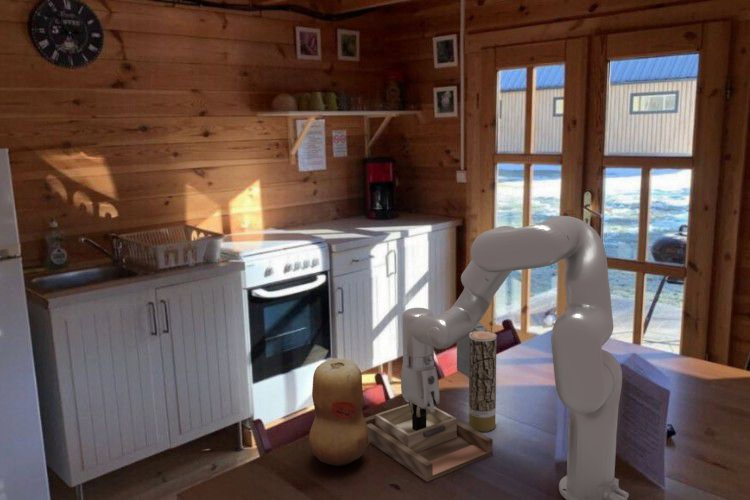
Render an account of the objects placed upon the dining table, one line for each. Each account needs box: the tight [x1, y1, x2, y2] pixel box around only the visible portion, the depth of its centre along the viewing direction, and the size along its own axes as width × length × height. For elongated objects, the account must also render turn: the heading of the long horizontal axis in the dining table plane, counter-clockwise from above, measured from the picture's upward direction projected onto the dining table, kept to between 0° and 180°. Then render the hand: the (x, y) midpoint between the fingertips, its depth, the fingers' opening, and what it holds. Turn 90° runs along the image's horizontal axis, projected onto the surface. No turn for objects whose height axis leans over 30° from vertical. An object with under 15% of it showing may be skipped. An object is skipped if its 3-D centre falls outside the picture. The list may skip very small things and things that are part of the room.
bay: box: [364, 414, 494, 483], centre depth 161 cm, size 26×20×5 cm
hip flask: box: [456, 322, 488, 378], centre depth 202 cm, size 16×4×20 cm, turn 20°
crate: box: [374, 403, 458, 452], centre depth 164 cm, size 15×15×5 cm
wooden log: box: [468, 330, 498, 433], centre depth 168 cm, size 7×7×25 cm
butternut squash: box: [308, 357, 370, 467], centre depth 153 cm, size 14×13×25 cm
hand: (419, 428), depth 163 cm, fingers closed
